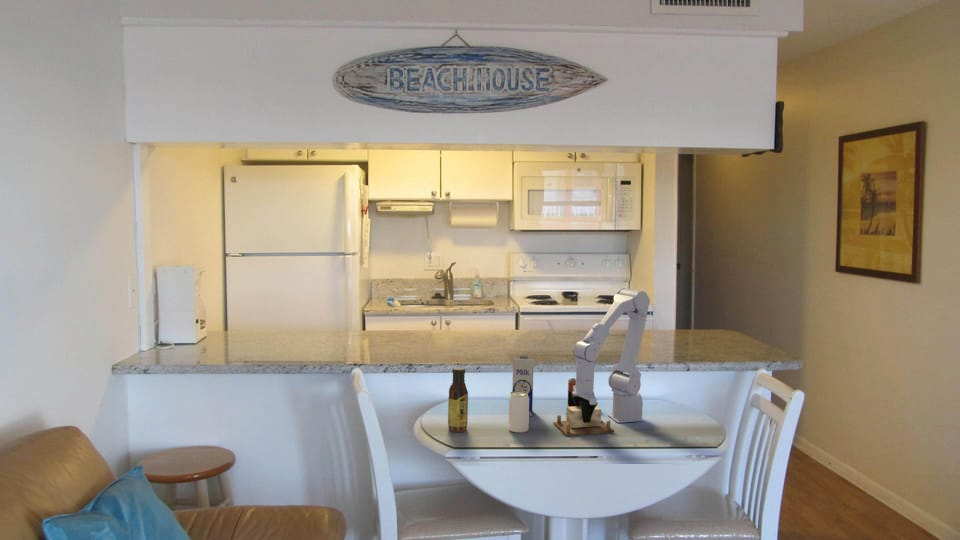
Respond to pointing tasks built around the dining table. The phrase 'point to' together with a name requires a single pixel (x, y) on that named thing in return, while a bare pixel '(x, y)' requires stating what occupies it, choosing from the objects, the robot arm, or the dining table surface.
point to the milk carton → (524, 378)
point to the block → (577, 421)
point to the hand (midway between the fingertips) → (583, 419)
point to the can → (518, 412)
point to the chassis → (582, 428)
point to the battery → (570, 389)
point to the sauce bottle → (458, 402)
